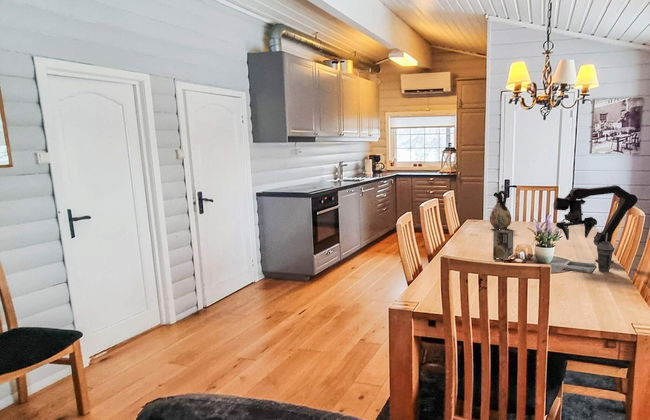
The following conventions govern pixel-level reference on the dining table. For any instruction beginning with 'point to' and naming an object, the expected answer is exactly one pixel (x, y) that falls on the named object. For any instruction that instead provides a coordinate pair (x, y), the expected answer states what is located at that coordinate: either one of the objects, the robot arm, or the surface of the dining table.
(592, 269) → the gray raised edge tray
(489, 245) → the dining table surface
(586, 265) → the flared docking tray
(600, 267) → the beverage cup
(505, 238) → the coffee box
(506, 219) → the ceramic jug
